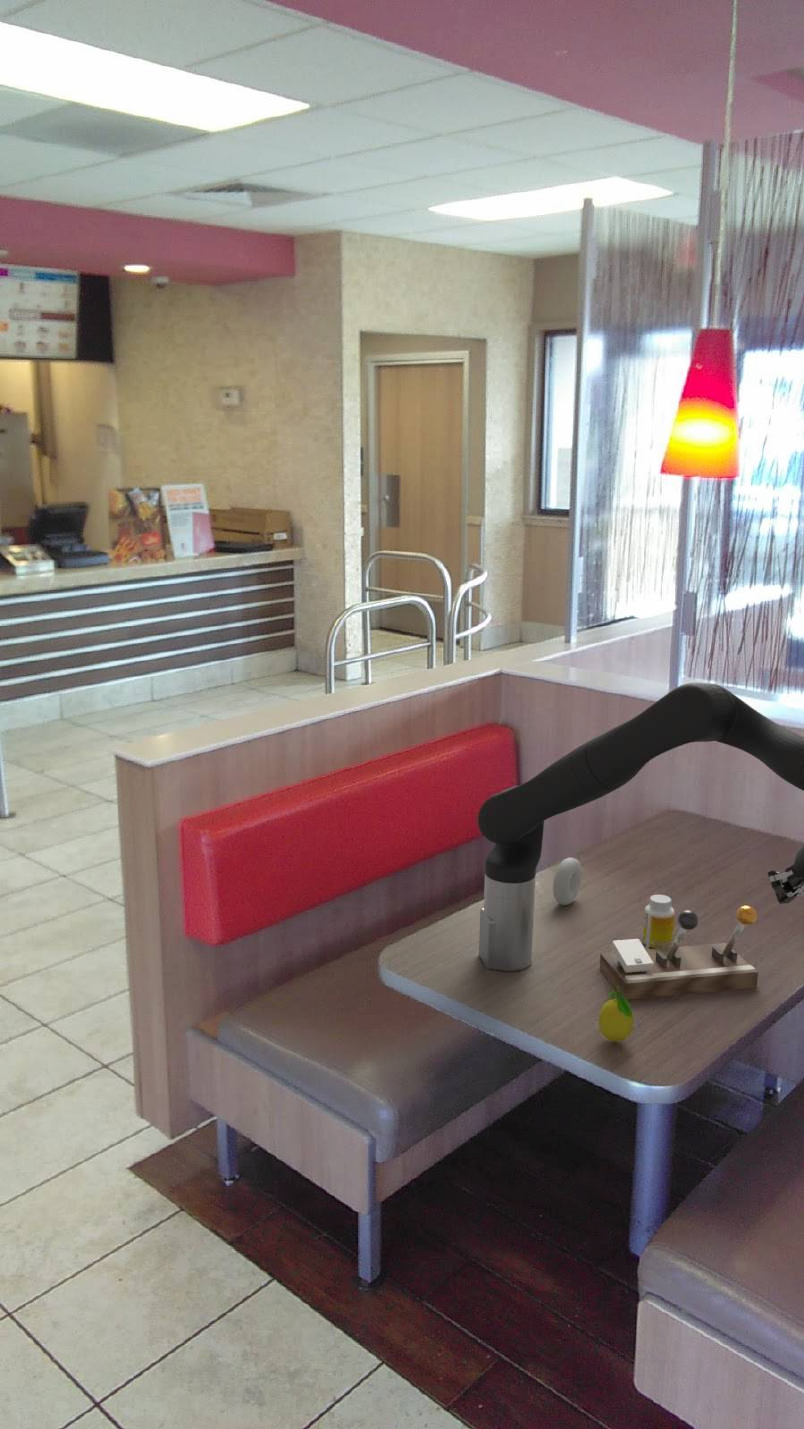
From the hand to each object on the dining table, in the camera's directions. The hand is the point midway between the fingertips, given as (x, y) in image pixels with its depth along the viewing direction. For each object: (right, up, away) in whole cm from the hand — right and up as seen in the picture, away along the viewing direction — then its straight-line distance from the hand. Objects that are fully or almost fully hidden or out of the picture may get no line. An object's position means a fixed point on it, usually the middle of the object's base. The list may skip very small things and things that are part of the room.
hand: (781, 897), depth 184 cm
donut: (-28, -10, +51) cm, 59 cm away
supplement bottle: (-13, -15, +31) cm, 37 cm away
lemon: (-28, -23, -3) cm, 36 cm away
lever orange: (-4, -14, +20) cm, 25 cm away
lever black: (-14, -14, +18) cm, 27 cm away
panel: (-12, -18, +19) cm, 29 cm away
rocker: (-21, -13, +16) cm, 30 cm away
